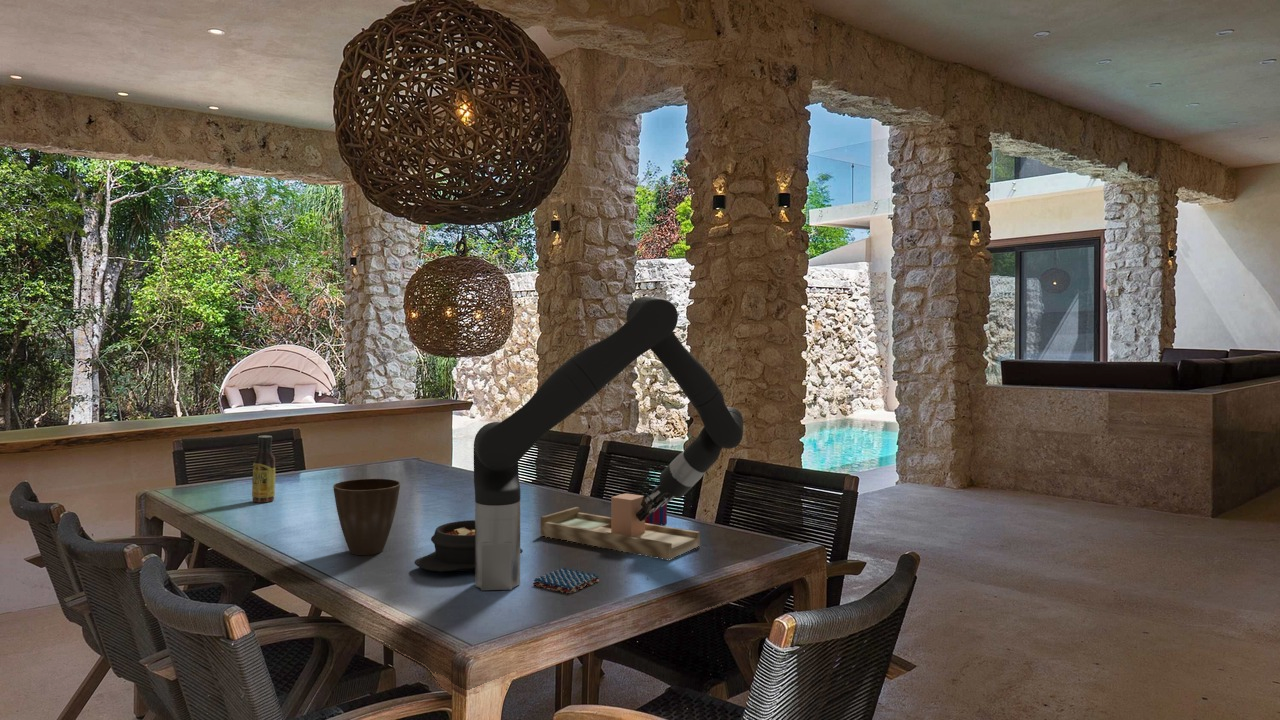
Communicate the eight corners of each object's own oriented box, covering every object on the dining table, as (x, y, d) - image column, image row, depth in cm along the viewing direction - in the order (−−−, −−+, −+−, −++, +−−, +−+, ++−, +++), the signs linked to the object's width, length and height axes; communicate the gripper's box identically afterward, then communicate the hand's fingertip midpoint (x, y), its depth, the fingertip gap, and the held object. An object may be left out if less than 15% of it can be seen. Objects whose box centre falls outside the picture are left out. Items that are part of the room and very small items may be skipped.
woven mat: (529, 588, 168) (529, 578, 168) (562, 575, 177) (562, 566, 177) (570, 597, 163) (570, 587, 163) (601, 584, 172) (601, 574, 172)
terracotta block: (644, 532, 204) (645, 496, 203) (631, 537, 199) (631, 500, 198) (625, 528, 207) (625, 493, 207) (611, 533, 202) (611, 497, 202)
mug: (671, 522, 224) (672, 498, 224) (645, 528, 217) (645, 503, 217) (654, 518, 229) (654, 494, 229) (628, 524, 222) (628, 499, 222)
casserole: (444, 586, 168) (444, 545, 168) (397, 567, 181) (397, 529, 181) (540, 562, 186) (540, 525, 186) (491, 546, 199) (491, 512, 199)
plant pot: (377, 539, 204) (377, 476, 204) (413, 550, 195) (413, 483, 194) (321, 552, 193) (320, 484, 192) (356, 564, 183) (356, 492, 183)
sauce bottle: (247, 502, 246) (246, 436, 246) (262, 498, 252) (262, 434, 252) (265, 504, 244) (264, 437, 244) (280, 500, 250) (279, 435, 250)
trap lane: (699, 546, 200) (699, 526, 199) (668, 560, 188) (668, 538, 187) (575, 525, 221) (575, 506, 220) (540, 536, 209) (540, 516, 208)
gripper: (687, 457, 200) (645, 501, 207) (658, 464, 189) (614, 510, 196) (706, 481, 197) (662, 525, 204) (678, 490, 186) (633, 535, 193)
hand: (639, 517), depth 200 cm, fingers closed
